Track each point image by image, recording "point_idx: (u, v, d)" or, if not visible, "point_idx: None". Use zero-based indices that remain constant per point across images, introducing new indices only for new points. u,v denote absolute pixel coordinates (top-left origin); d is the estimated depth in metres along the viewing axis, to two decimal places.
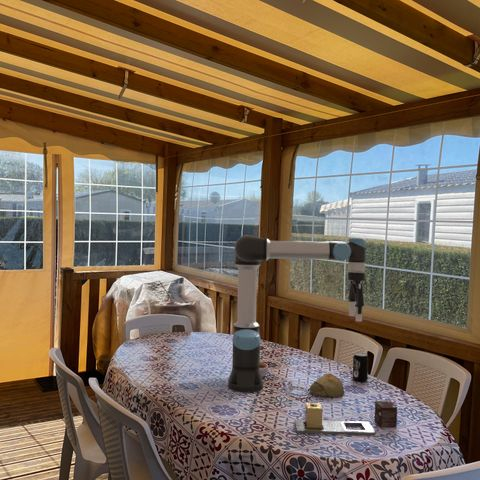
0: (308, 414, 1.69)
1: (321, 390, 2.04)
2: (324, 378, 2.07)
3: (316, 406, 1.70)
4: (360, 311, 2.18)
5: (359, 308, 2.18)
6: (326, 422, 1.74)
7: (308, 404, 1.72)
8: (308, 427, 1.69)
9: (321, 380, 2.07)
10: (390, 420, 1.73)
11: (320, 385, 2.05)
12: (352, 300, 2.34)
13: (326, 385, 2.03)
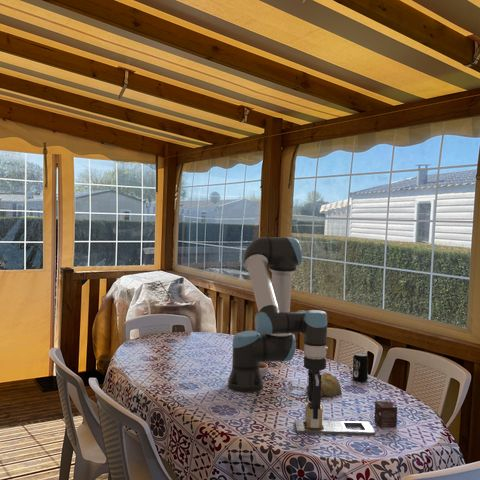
0: (308, 414, 1.69)
1: None
2: (321, 377, 2.08)
3: None
4: (316, 415, 1.67)
5: (315, 411, 1.67)
6: (326, 422, 1.74)
7: (308, 404, 1.72)
8: (308, 427, 1.69)
9: None
10: (390, 420, 1.73)
11: None
12: (312, 400, 1.74)
13: (324, 385, 2.04)
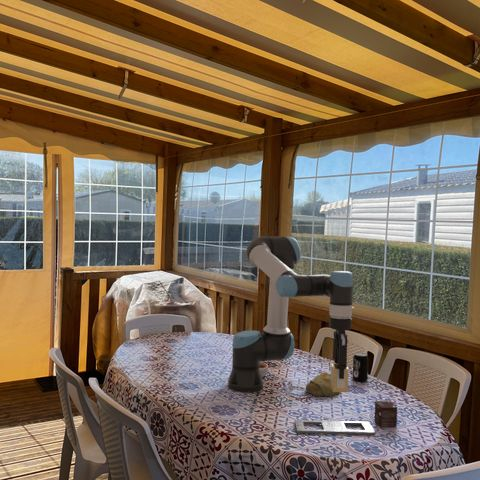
0: (334, 374, 1.68)
1: (317, 389, 2.05)
2: (320, 377, 2.08)
3: None
4: (342, 375, 1.66)
5: (341, 371, 1.66)
6: (326, 422, 1.74)
7: (334, 365, 1.71)
8: (334, 387, 1.68)
9: (317, 379, 2.08)
10: (390, 420, 1.73)
11: (316, 384, 2.05)
12: (338, 361, 1.73)
13: (323, 385, 2.04)
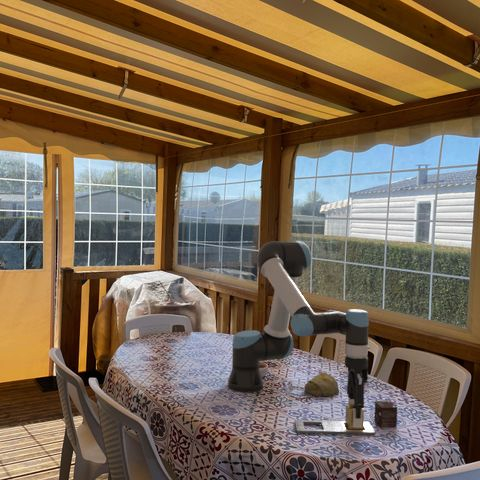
0: (349, 415, 1.69)
1: (316, 389, 2.05)
2: (319, 377, 2.08)
3: None
4: (359, 415, 1.65)
5: (358, 411, 1.65)
6: (326, 422, 1.74)
7: (349, 405, 1.72)
8: (349, 428, 1.69)
9: (316, 379, 2.08)
10: (390, 420, 1.73)
11: (315, 384, 2.06)
12: (352, 397, 1.75)
13: (321, 384, 2.05)
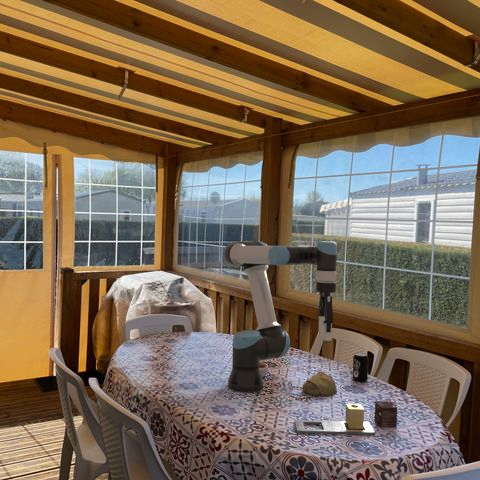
0: (349, 415, 1.69)
1: (314, 389, 2.05)
2: (317, 377, 2.09)
3: (357, 407, 1.70)
4: (329, 329, 1.85)
5: (328, 325, 1.85)
6: (326, 422, 1.74)
7: (349, 405, 1.72)
8: (349, 428, 1.69)
9: (314, 379, 2.08)
10: (390, 420, 1.73)
11: (313, 384, 2.06)
12: (322, 314, 2.01)
13: (319, 384, 2.05)
